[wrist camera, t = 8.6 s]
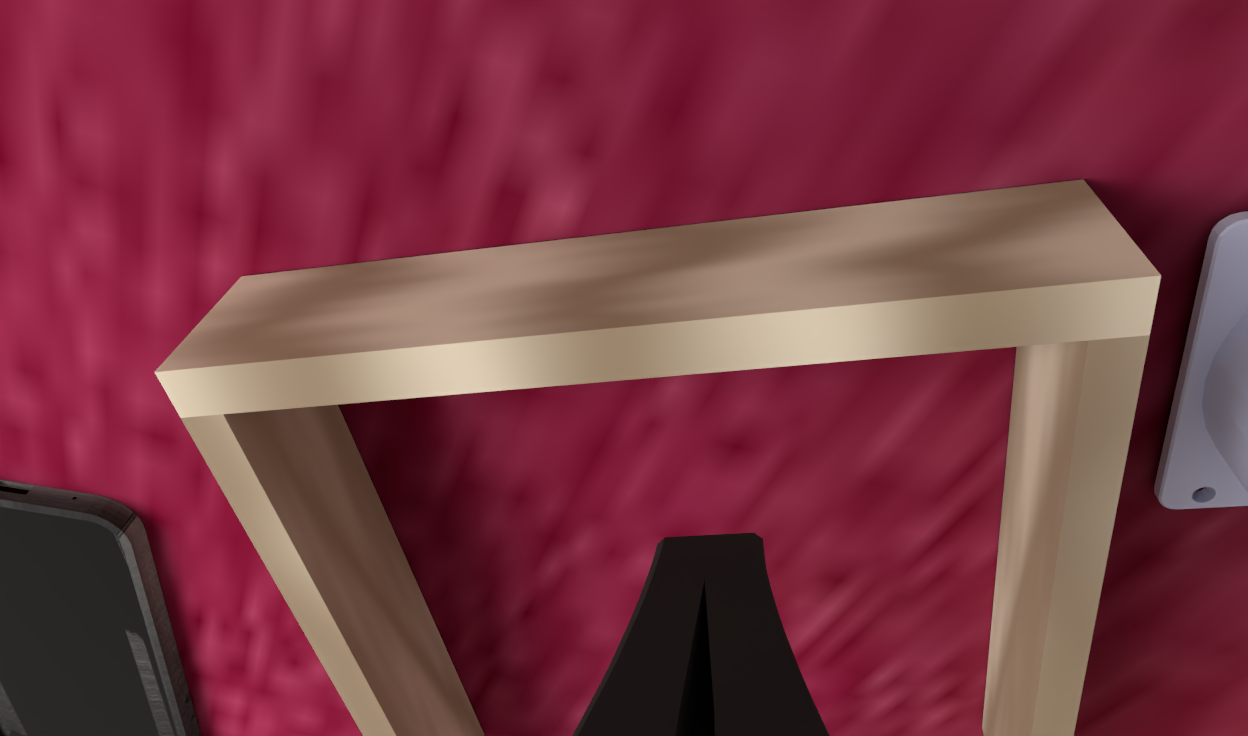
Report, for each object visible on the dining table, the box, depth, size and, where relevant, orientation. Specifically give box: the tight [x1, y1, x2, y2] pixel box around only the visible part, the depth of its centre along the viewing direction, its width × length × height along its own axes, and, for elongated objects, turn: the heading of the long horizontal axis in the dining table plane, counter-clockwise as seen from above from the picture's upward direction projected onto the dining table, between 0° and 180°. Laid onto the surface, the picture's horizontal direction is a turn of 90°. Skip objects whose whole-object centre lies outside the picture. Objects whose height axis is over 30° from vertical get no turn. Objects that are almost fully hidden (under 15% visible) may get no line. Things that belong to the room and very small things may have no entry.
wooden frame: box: [155, 179, 1161, 736], centre depth 23 cm, size 19×19×4 cm
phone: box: [0, 479, 201, 736], centre depth 31 cm, size 8×1×15 cm
